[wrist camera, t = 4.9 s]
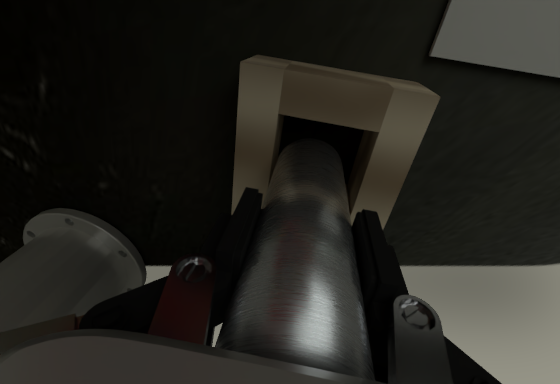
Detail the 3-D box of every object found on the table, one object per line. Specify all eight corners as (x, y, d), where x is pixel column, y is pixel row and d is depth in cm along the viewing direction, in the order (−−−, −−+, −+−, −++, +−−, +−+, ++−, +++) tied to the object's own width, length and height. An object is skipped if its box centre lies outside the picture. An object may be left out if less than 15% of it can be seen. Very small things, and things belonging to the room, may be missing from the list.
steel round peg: (333, 203, 18) (353, 490, 7) (272, 192, 18) (193, 454, 7) (350, 145, 16) (418, 420, 5) (281, 132, 16) (188, 370, 5)
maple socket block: (367, 213, 22) (375, 247, 19) (245, 189, 23) (231, 218, 19) (417, 82, 17) (440, 96, 14) (257, 54, 17) (240, 61, 14)
